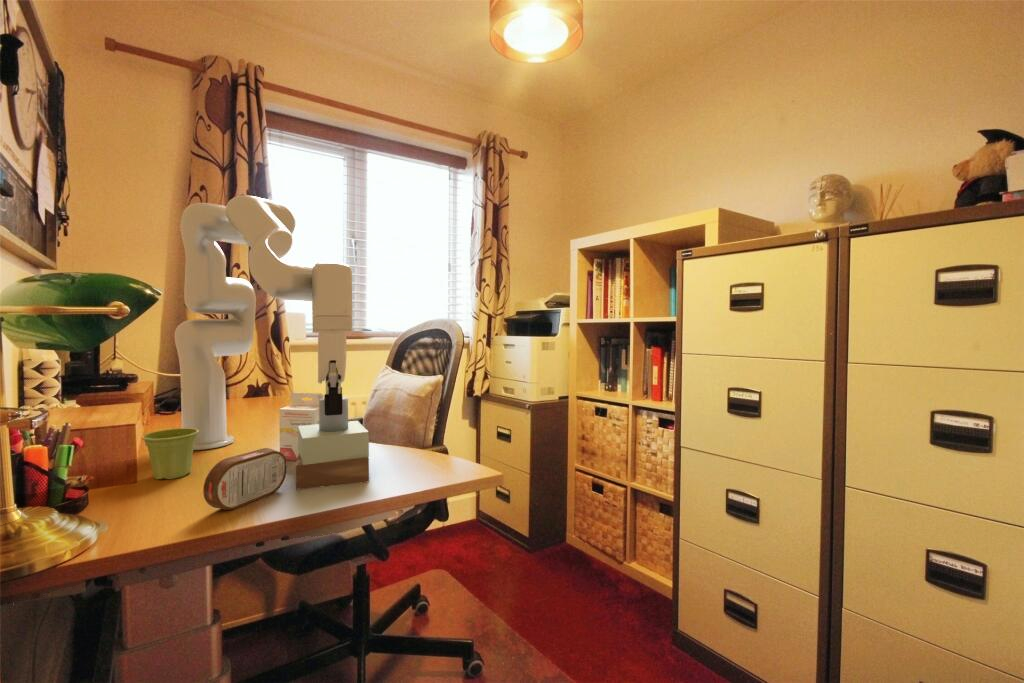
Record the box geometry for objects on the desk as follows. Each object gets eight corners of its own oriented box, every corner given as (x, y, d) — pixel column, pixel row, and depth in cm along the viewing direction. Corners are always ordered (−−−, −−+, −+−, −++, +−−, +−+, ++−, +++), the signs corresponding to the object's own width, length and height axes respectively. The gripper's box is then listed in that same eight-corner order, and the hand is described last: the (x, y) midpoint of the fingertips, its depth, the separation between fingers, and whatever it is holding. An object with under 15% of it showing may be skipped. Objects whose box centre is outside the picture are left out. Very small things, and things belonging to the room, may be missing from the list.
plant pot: (152, 486, 92) (151, 441, 92) (136, 476, 98) (135, 433, 98) (207, 474, 100) (206, 432, 99) (189, 465, 105) (188, 426, 105)
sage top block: (298, 449, 101) (297, 426, 101) (357, 443, 107) (357, 420, 107) (302, 465, 91) (302, 438, 91) (368, 456, 96) (368, 431, 96)
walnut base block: (300, 471, 103) (299, 448, 103) (364, 465, 108) (364, 442, 107) (296, 491, 91) (295, 465, 91) (369, 483, 95) (368, 458, 95)
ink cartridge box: (278, 460, 109) (277, 395, 109) (290, 454, 114) (289, 392, 114) (315, 461, 109) (314, 396, 108) (325, 455, 114) (324, 392, 113)
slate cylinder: (319, 427, 100) (319, 398, 100) (347, 425, 102) (347, 396, 102) (318, 432, 95) (318, 402, 95) (348, 430, 97) (348, 400, 97)
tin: (278, 486, 92) (277, 442, 92) (290, 488, 91) (290, 444, 91) (202, 516, 78) (200, 464, 78) (216, 519, 77) (214, 466, 77)
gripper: (314, 325, 104) (315, 404, 105) (310, 325, 88) (311, 420, 89) (351, 325, 107) (352, 402, 108) (353, 325, 91) (354, 417, 91)
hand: (333, 410), depth 98 cm, fingers open, 9 cm apart
